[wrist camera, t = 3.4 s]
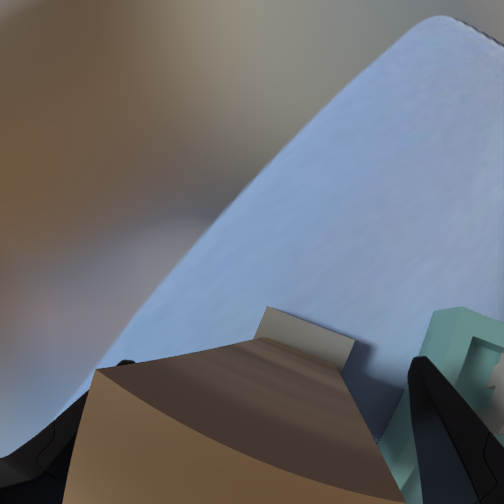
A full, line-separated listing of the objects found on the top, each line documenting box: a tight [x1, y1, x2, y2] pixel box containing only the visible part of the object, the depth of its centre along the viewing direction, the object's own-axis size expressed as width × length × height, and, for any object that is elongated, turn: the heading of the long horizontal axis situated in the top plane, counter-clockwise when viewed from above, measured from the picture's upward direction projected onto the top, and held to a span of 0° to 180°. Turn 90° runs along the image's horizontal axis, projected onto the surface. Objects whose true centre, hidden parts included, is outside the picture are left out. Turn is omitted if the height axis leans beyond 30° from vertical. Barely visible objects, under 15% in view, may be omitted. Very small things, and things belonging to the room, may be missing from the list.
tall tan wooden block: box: [62, 306, 406, 504], centre depth 9 cm, size 6×4×14 cm
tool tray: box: [377, 307, 504, 504], centre depth 10 cm, size 14×14×4 cm
